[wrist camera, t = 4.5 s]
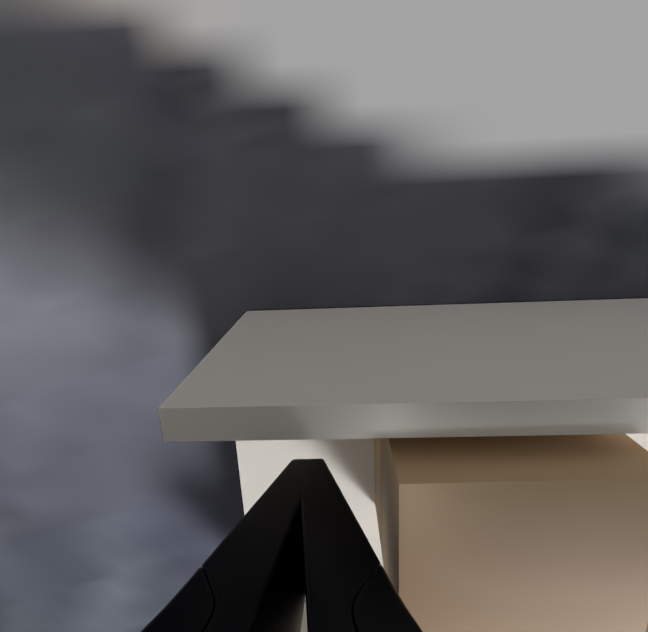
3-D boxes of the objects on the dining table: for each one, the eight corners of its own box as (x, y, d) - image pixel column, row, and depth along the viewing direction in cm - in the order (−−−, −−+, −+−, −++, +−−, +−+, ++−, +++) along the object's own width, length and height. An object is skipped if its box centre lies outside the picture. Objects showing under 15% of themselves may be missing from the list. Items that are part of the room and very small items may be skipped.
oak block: (521, 501, 10) (635, 676, 6) (375, 504, 10) (398, 676, 7) (536, 366, 9) (682, 477, 5) (372, 371, 9) (399, 483, 5)
